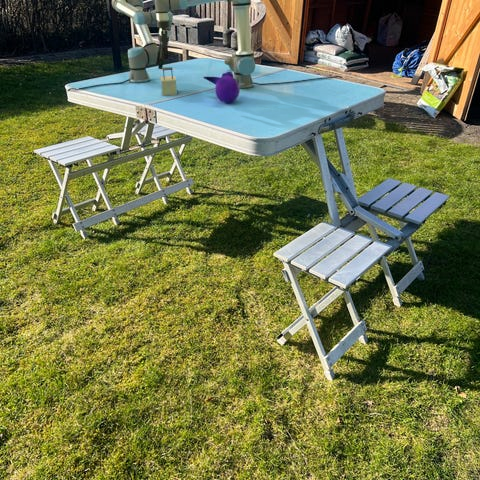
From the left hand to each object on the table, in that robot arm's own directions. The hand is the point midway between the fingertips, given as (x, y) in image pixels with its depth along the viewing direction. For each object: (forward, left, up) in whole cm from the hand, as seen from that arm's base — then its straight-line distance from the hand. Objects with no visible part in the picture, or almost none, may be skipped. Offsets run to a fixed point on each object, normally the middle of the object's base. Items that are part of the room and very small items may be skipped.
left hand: (159, 66), depth 324 cm
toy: (+29, -68, -12) cm, 75 cm away
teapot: (+67, +30, -12) cm, 74 cm away
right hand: (0, -39, +11) cm, 40 cm away
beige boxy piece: (+1, -35, -3) cm, 35 cm away
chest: (+1, -35, -12) cm, 37 cm away
